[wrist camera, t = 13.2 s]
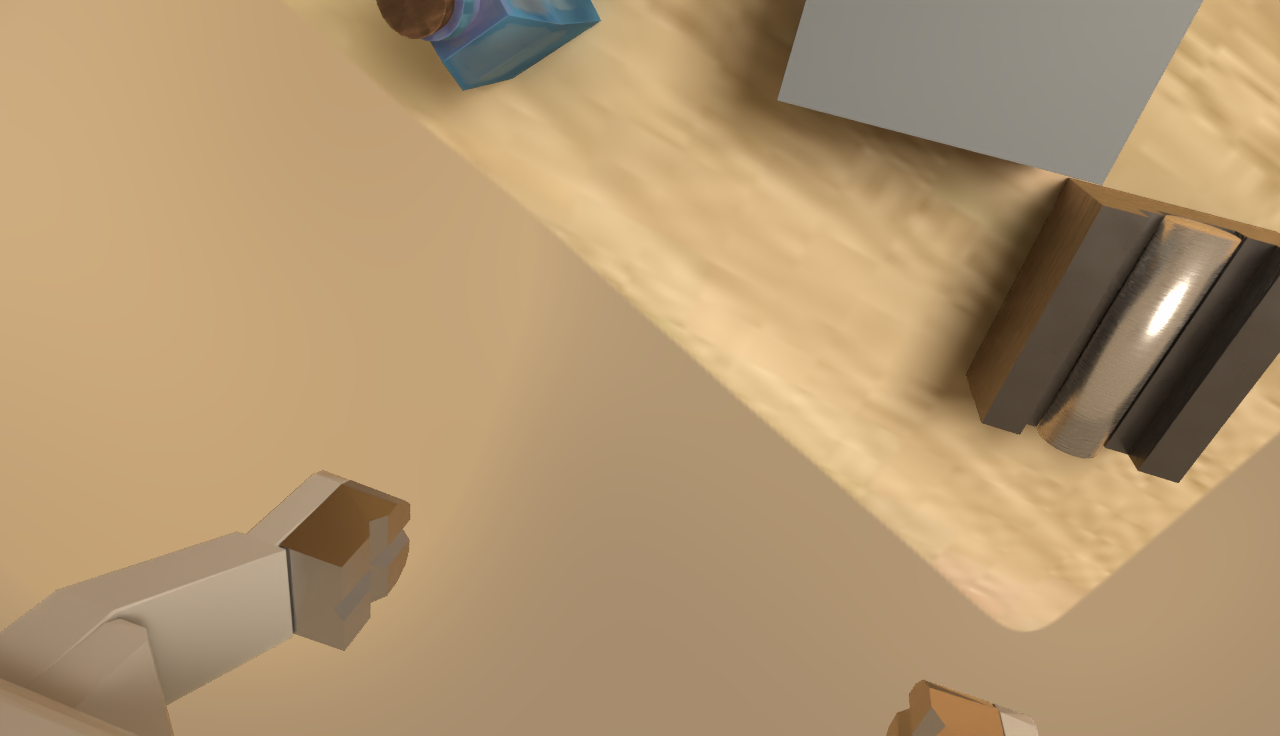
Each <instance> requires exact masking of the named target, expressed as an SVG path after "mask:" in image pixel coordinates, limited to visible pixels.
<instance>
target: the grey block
mask: <svg viewBox="0 0 1280 736" xmlns="http://www.w3.org/2000/svg"><path fill="white" fill-rule="evenodd" d="M1202 2H1203V0H806V2H805V6H804V9H803V13H802V16H801V19H800V23H799V26H798V30H797V33H796V37H795V40H794V44H793V47H792V50H791V54H790V57H789V61H788V64H787V68H786V71H785V75H784V78H783V82H782V85H781V88H780V92H779V95H778V99H777V101H781V102H785V103H789V104H793V105H797V106H800V107H804V108H808V109H812V110H816V111H820V112H824V113H827V114H831V115H835V116H839V117H843V118H847V119H850V120H854V121H858V122H862V123H866V124H870V125H874V126H877V127H881V128H885V129H889V130H893V131H897V132H900V133H904V134H908V135H912V136H916V137H920V138H923V139H927V140H931V141H935V142H939V143H943V144H947V145H950V146H954V147H958V148H962V149H966V150H970V151H973V152H977V153H981V154H985V155H989V156H993V157H997V158H1000V159H1004V160H1008V161H1012V162H1016V163H1020V164H1023V165H1027V166H1031V167H1035V168H1039V169H1043V170H1046V171H1050V172H1054V173H1058V174H1062V175H1066V176H1070V177H1073V178H1077V179H1081V180H1085V181H1089V182H1093V183H1096V184H1100V185H1102V184H1103V183H1104V181H1105V179H1106V177H1107V175H1108V173H1109V172H1110V170H1111V168H1112V166H1113V164H1114V163H1115V161H1116V159H1117V157H1118V155H1119V153H1120V152H1121V150H1122V148H1123V146H1124V144H1125V142H1126V141H1127V139H1128V137H1129V135H1130V133H1131V131H1132V130H1133V128H1134V126H1135V124H1136V122H1137V121H1138V119H1139V117H1140V115H1141V113H1142V111H1143V110H1144V108H1145V106H1146V104H1147V102H1148V100H1149V99H1150V97H1151V95H1152V93H1153V91H1154V89H1155V88H1156V86H1157V84H1158V82H1159V80H1160V79H1161V77H1162V75H1163V73H1164V71H1165V69H1166V68H1167V66H1168V64H1169V62H1170V60H1171V58H1172V57H1173V55H1174V53H1175V51H1176V49H1177V47H1178V46H1179V44H1180V42H1181V40H1182V38H1183V37H1184V35H1185V33H1186V31H1187V29H1188V27H1189V26H1190V24H1191V22H1192V20H1193V18H1194V16H1195V15H1196V13H1197V11H1198V9H1199V7H1200V5H1201V4H1202Z"/></svg>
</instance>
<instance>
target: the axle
mask: <svg viewBox="0 0 1280 736" xmlns="http://www.w3.org/2000/svg"><path fill="white" fill-rule="evenodd" d="M1240 242H1241V239H1239V238H1238V237H1236V236H1235V235H1232V234H1230V233H1228V232H1226V231H1223V230H1221V229H1218V228H1216V227H1213V226H1210V225H1207V224H1204V223H1201V222H1198V221H1194V220H1190V219H1187V218H1183V217H1178V216H1172V215H1166V216H1165V218H1164V219H1163V221H1162V222H1161V224H1160V226H1159V227H1158V229H1157V231H1156V232H1155V234H1154V236H1153V237H1152V239H1151V241H1150V242H1149V244H1148V245H1147V247H1146V249H1145V250H1144V252H1143V254H1142V255H1141V257H1140V259H1139V260H1138V262H1137V264H1136V265H1135V267H1134V269H1133V270H1132V272H1131V273H1130V275H1129V277H1128V278H1127V280H1126V282H1125V283H1124V285H1123V287H1122V288H1121V290H1120V292H1119V293H1118V295H1117V296H1116V298H1115V300H1114V301H1113V303H1112V305H1111V306H1110V308H1109V310H1108V311H1107V313H1106V315H1105V316H1104V318H1103V320H1102V321H1101V323H1100V324H1099V326H1098V328H1097V329H1096V331H1095V333H1094V334H1093V336H1092V338H1091V339H1090V341H1089V343H1088V344H1087V346H1086V348H1085V349H1084V351H1083V352H1082V354H1081V356H1080V357H1079V359H1078V361H1077V362H1076V364H1075V366H1074V367H1073V369H1072V371H1071V372H1070V374H1069V375H1068V377H1067V379H1066V380H1065V382H1064V384H1063V385H1062V387H1061V389H1060V390H1059V392H1058V394H1057V395H1056V397H1055V399H1054V400H1053V402H1052V403H1051V405H1050V407H1049V408H1048V410H1047V412H1046V413H1045V415H1044V417H1043V418H1042V420H1041V422H1040V423H1039V425H1038V427H1037V431H1038V433H1039V434H1040V436H1041V437H1042V438H1043V439H1044V440H1045V441H1047V442H1048V443H1049V444H1051V445H1052V446H1054V447H1055V448H1057V449H1059V450H1061V451H1063V452H1065V453H1067V454H1070V455H1073V456H1076V457H1080V458H1093V457H1095V456H1096V455H1097V453H1098V452H1099V450H1100V449H1101V447H1102V446H1103V444H1104V443H1105V441H1106V440H1107V438H1108V437H1109V435H1110V434H1111V432H1112V431H1113V429H1114V428H1115V426H1116V425H1117V424H1118V422H1119V421H1120V419H1121V418H1122V416H1123V415H1124V413H1125V412H1126V410H1127V409H1128V407H1129V406H1130V404H1131V403H1132V401H1133V400H1134V398H1135V397H1136V396H1137V394H1138V393H1139V391H1140V390H1141V388H1142V387H1143V385H1144V384H1145V382H1146V381H1147V379H1148V378H1149V376H1150V375H1151V373H1152V372H1153V370H1154V369H1155V367H1156V366H1157V365H1158V363H1159V362H1160V360H1161V359H1162V357H1163V356H1164V354H1165V353H1166V351H1167V350H1168V348H1169V347H1170V345H1171V344H1172V342H1173V341H1174V339H1175V338H1176V336H1177V335H1178V334H1179V332H1180V331H1181V329H1182V328H1183V326H1184V325H1185V323H1186V322H1187V320H1188V319H1189V317H1190V316H1191V314H1192V313H1193V311H1194V310H1195V308H1196V307H1197V305H1198V304H1199V303H1200V301H1201V300H1202V298H1203V297H1204V295H1205V294H1206V292H1207V291H1208V289H1209V288H1210V286H1211V285H1212V283H1213V282H1214V280H1215V279H1216V277H1217V276H1218V274H1219V273H1220V272H1221V270H1222V269H1223V267H1224V266H1225V264H1226V263H1227V261H1228V260H1229V258H1230V257H1231V255H1232V254H1233V252H1234V251H1235V249H1236V248H1237V246H1238V245H1239V244H1240Z"/></svg>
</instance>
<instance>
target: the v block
mask: <svg viewBox="0 0 1280 736" xmlns="http://www.w3.org/2000/svg"><path fill="white" fill-rule="evenodd" d="M1166 215H1172V216H1178V217H1183V218H1187V219H1190V220H1194V221H1198V222H1201V223H1204V224H1207V225H1210V226H1213V227H1216V228H1218V229H1221V230H1223V231H1226V232H1228V233H1230V234H1232V235H1235V236H1236V237H1238V238H1239V239H1241V242H1240V244H1239V245H1238V246H1237V248H1236V249H1235V251H1234V252H1233V254H1232V255H1231V257H1230V258H1229V260H1228V261H1227V263H1226V264H1225V266H1224V267H1223V269H1222V270H1221V272H1220V273H1219V274H1218V276H1217V277H1216V279H1215V280H1214V282H1213V283H1212V285H1211V286H1210V288H1209V289H1208V291H1207V292H1206V294H1205V295H1204V297H1203V298H1202V300H1201V301H1200V303H1199V304H1198V305H1197V307H1196V308H1195V310H1194V311H1193V313H1192V314H1191V316H1190V317H1189V319H1188V320H1187V322H1186V323H1185V325H1184V326H1183V328H1182V329H1181V331H1180V332H1179V334H1178V335H1177V336H1176V338H1175V339H1174V341H1173V342H1172V344H1171V345H1170V347H1169V348H1168V350H1167V351H1166V353H1165V354H1164V356H1163V357H1162V359H1161V360H1160V362H1159V363H1158V365H1157V366H1156V367H1155V369H1154V370H1153V372H1152V373H1151V375H1150V376H1149V378H1148V379H1147V381H1146V382H1145V384H1144V385H1143V387H1142V388H1141V390H1140V391H1139V393H1138V394H1137V396H1136V397H1135V398H1134V400H1133V401H1132V403H1131V404H1130V406H1129V407H1128V409H1127V410H1126V412H1125V413H1124V415H1123V416H1122V418H1121V419H1120V421H1119V422H1118V424H1117V425H1116V426H1115V428H1114V429H1113V431H1112V432H1111V434H1110V435H1109V437H1108V438H1107V440H1106V441H1105V443H1104V444H1103V445H1104V447H1105V448H1108V449H1112V450H1115V451H1118V452H1122V453H1125V454H1128V455H1129V457H1130V459H1131V460H1132V462H1133V463H1134V465H1135V467H1136V468H1137V470H1138V471H1141V472H1144V473H1147V474H1150V475H1154V476H1157V477H1160V478H1163V479H1167V480H1170V481H1173V482H1177V483H1179V482H1180V480H1181V479H1182V478H1183V477H1184V475H1185V474H1186V473H1187V471H1188V470H1189V469H1190V467H1191V466H1192V465H1193V464H1194V462H1195V461H1196V460H1197V458H1198V457H1199V456H1200V455H1201V453H1202V452H1203V451H1204V449H1205V448H1206V447H1207V446H1208V444H1209V443H1210V442H1211V440H1212V439H1213V438H1214V436H1215V435H1216V434H1217V433H1218V431H1219V430H1220V429H1221V427H1222V426H1223V425H1224V424H1225V422H1226V421H1227V420H1228V418H1229V417H1230V416H1231V414H1232V413H1233V412H1234V411H1235V409H1236V408H1237V407H1238V405H1239V404H1240V403H1241V402H1242V400H1243V399H1244V398H1245V396H1246V395H1247V394H1248V393H1249V391H1250V390H1251V389H1252V387H1253V386H1254V385H1255V383H1256V382H1257V381H1258V380H1259V378H1260V377H1261V376H1262V374H1263V373H1264V372H1265V371H1266V369H1267V368H1268V367H1269V365H1270V364H1271V363H1272V362H1273V360H1274V359H1275V358H1276V356H1277V355H1278V354H1279V352H1280V234H1279V233H1278V232H1275V231H1272V230H1268V229H1264V228H1260V227H1256V226H1252V225H1248V224H1245V223H1241V222H1237V221H1233V220H1229V219H1225V218H1222V217H1218V216H1214V215H1210V214H1206V213H1202V212H1199V211H1195V210H1191V209H1187V208H1183V207H1179V206H1176V205H1172V204H1168V203H1164V202H1160V201H1156V200H1152V199H1149V198H1145V197H1141V196H1137V195H1133V194H1129V193H1126V192H1122V191H1118V190H1114V189H1110V188H1106V187H1103V186H1099V185H1095V184H1091V183H1087V182H1083V181H1080V180H1076V179H1072V178H1068V180H1067V182H1066V184H1065V186H1064V188H1063V190H1062V192H1061V194H1060V196H1059V197H1058V199H1057V201H1056V203H1055V205H1054V207H1053V209H1052V211H1051V213H1050V215H1049V217H1048V219H1047V221H1046V222H1045V224H1044V226H1043V228H1042V230H1041V232H1040V234H1039V236H1038V238H1037V240H1036V242H1035V244H1034V246H1033V247H1032V249H1031V251H1030V253H1029V255H1028V257H1027V259H1026V261H1025V263H1024V265H1023V267H1022V269H1021V270H1020V272H1019V274H1018V276H1017V278H1016V280H1015V282H1014V284H1013V286H1012V288H1011V290H1010V292H1009V294H1008V295H1007V297H1006V299H1005V301H1004V303H1003V305H1002V307H1001V309H1000V311H999V313H998V315H997V317H996V319H995V320H994V322H993V324H992V326H991V328H990V330H989V332H988V334H987V336H986V338H985V340H984V342H983V344H982V345H981V347H980V349H979V351H978V353H977V355H976V357H975V359H974V361H973V363H972V365H971V367H970V369H969V370H968V372H967V374H966V376H967V379H968V382H969V385H970V388H971V391H972V395H973V398H974V401H975V404H976V407H977V410H978V413H979V416H980V419H981V423H983V424H987V425H990V426H993V427H997V428H1000V429H1003V430H1006V431H1010V432H1013V433H1016V434H1019V435H1020V434H1021V432H1022V430H1023V429H1024V427H1025V425H1026V424H1029V425H1033V426H1036V427H1037V425H1038V423H1039V422H1040V420H1042V418H1043V417H1044V415H1045V413H1046V412H1047V410H1048V408H1049V407H1050V405H1051V403H1052V402H1053V400H1054V399H1055V397H1056V395H1057V394H1058V392H1059V390H1060V389H1061V387H1062V385H1063V384H1064V382H1065V380H1066V379H1067V377H1068V375H1069V374H1070V372H1071V371H1072V369H1073V367H1074V366H1075V364H1076V362H1077V361H1078V359H1079V357H1080V356H1081V354H1082V352H1083V351H1084V349H1085V348H1086V346H1087V344H1088V343H1089V341H1090V339H1091V338H1092V336H1093V334H1094V333H1095V331H1096V329H1097V328H1098V326H1099V324H1100V323H1101V321H1102V320H1103V318H1104V316H1105V315H1106V313H1107V311H1108V310H1109V308H1110V306H1111V305H1112V303H1113V301H1114V300H1115V298H1116V296H1117V295H1118V293H1119V292H1120V290H1121V288H1122V287H1123V285H1124V283H1125V282H1126V280H1127V278H1128V277H1129V275H1130V273H1131V272H1132V270H1133V269H1134V267H1135V265H1136V264H1137V262H1138V260H1139V259H1140V257H1141V255H1142V254H1143V252H1144V250H1145V249H1146V247H1147V245H1148V244H1149V242H1150V241H1151V239H1152V237H1153V236H1154V234H1155V232H1156V231H1157V229H1158V227H1159V226H1160V224H1161V222H1162V221H1163V219H1164V218H1165V216H1166Z"/></svg>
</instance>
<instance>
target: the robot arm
mask: <svg viewBox="0 0 1280 736" xmlns="http://www.w3.org/2000/svg"><path fill="white" fill-rule="evenodd" d="M409 520H410V504H409V503H408V502H406V501H404V500H402V499H399V498H397V497H394V496H391V495H389V494H386V493H383V492H381V491H378V490H375V489H373V488H370V487H367V486H365V485H362V484H360V483H357V482H354V481H352V480H348V479H345V478H342V477H340V476H337V475H334V474H332V473H329V472H326V471H320V472H318V473H315V474H313V475H311V476H310V477H309V478H308V479H307V480H306V481H305V482H304V483H302V484H301V485H300V486H299V487H298V488H297V489H296V490H294V491H293V492H292V493H291V494H290V495H289V496H288V497H287V498H286V499H284V500H283V501H282V502H281V503H280V504H279V505H278V506H277V507H276V508H275V509H273V510H272V511H271V512H270V513H269V514H268V515H267V516H265V517H264V518H263V519H262V520H261V521H260V522H259V523H258V524H257V525H256V526H254V527H253V528H252V529H251V530H250V531H249V532H248V533H247V534H242V533H240V532H234V533H231V534H228V535H225V536H222V537H219V538H216V539H212V540H209V541H206V542H203V543H200V544H197V545H194V546H191V547H188V548H185V549H182V550H179V551H175V552H172V553H169V554H166V555H163V556H160V557H157V558H154V559H151V560H148V561H144V562H141V563H138V564H136V565H132V566H129V567H126V568H123V569H120V570H117V571H113V572H111V573H107V574H104V575H101V576H98V577H95V578H92V579H89V580H86V581H82V582H79V583H77V584H73V585H70V586H67V587H64V588H61V589H58V590H56V591H55V592H53V593H52V594H50V595H49V596H48V597H46V598H45V599H44V600H42V601H41V602H40V603H38V604H37V605H36V606H35V607H33V608H32V609H31V610H29V611H28V612H27V613H25V614H24V615H23V616H21V617H20V618H19V619H17V620H16V621H15V622H13V623H12V624H11V625H9V626H8V627H7V628H6V629H4V630H3V631H1V632H0V736H174V734H173V730H172V726H171V722H170V718H169V714H168V710H167V707H166V705H168V704H170V703H172V702H174V701H175V700H177V699H179V698H181V697H183V696H185V695H186V694H188V693H190V692H192V691H194V690H196V689H198V688H199V687H201V686H203V685H205V684H206V683H209V682H210V681H212V680H214V679H216V678H218V677H220V676H222V675H223V674H225V673H227V672H229V671H231V670H233V669H235V668H236V667H238V666H240V665H242V664H243V663H246V662H247V661H249V660H251V659H253V658H255V657H257V656H258V655H260V654H262V653H264V652H266V651H268V650H270V649H271V648H273V647H275V646H277V645H279V644H281V643H283V642H284V641H286V640H288V639H290V638H292V637H293V633H294V634H297V635H300V636H303V637H306V638H309V639H311V640H314V641H317V642H320V643H323V644H326V645H329V646H332V647H334V648H337V649H340V650H343V651H345V649H346V648H347V647H348V646H349V644H350V643H351V642H352V641H353V639H354V638H355V637H356V635H357V634H358V633H359V631H360V630H361V629H362V627H363V626H364V625H365V624H366V622H367V621H368V620H369V618H370V603H371V602H374V601H376V600H378V599H380V598H383V597H385V596H387V595H388V593H389V592H390V591H391V589H392V588H393V586H394V585H395V584H396V582H397V581H398V579H399V577H400V575H401V572H402V570H403V568H404V566H405V564H406V560H407V556H408V552H409V538H408V537H407V535H406V534H405V532H404V530H403V527H404V526H405V525H406V524H407V523H408V521H409ZM909 702H910V708H909V709H907V710H904V711H901V712H898V713H897V714H896V716H895V717H894V719H893V721H892V723H891V724H890V726H889V728H888V732H887V736H1039V735H1038V731H1037V728H1036V724H1035V722H1034V721H1033V720H1032V718H1031V717H1030V716H1028V715H1025V714H1022V713H1019V712H1016V711H1013V710H1011V709H1008V708H1005V707H1002V706H999V705H996V704H991V703H990V702H988V701H985V700H982V699H979V698H976V697H973V696H970V695H967V694H964V693H961V692H958V691H955V690H952V689H949V688H946V687H943V686H940V685H937V684H934V683H931V682H928V681H925V680H921V681H920V682H918V683H916V684H915V686H914V687H913V689H912V690H911V692H910V693H909Z"/></svg>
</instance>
